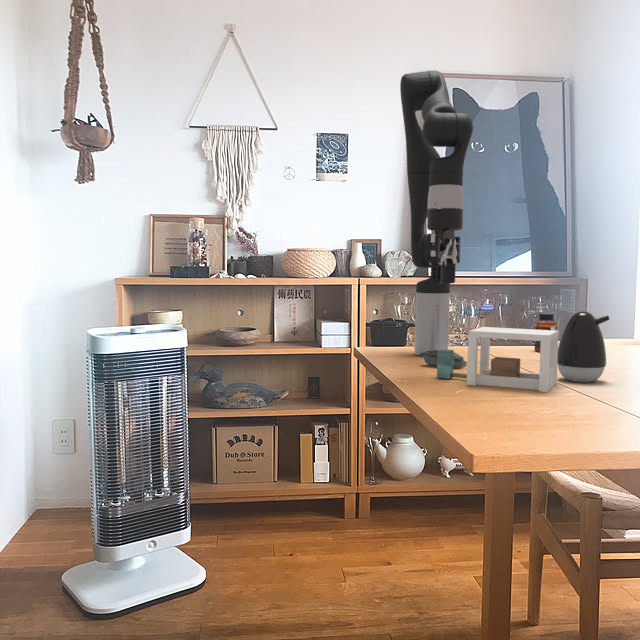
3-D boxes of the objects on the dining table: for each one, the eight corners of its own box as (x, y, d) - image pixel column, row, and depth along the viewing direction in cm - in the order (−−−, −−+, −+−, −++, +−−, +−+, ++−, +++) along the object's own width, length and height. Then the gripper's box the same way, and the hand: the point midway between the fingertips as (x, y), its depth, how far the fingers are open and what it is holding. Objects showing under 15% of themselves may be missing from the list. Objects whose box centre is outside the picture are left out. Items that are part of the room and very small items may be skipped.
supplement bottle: (558, 353, 203) (559, 314, 202) (537, 352, 203) (539, 313, 202) (551, 350, 209) (553, 312, 208) (531, 350, 209) (533, 312, 208)
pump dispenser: (607, 386, 146) (610, 313, 145) (554, 382, 149) (557, 311, 148) (605, 378, 155) (608, 310, 154) (556, 375, 159) (558, 309, 158)
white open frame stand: (481, 377, 155) (483, 326, 154) (556, 383, 148) (558, 330, 147) (466, 384, 145) (468, 330, 144) (547, 392, 137) (549, 335, 136)
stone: (426, 367, 179) (415, 359, 170) (429, 352, 179) (418, 343, 171) (466, 374, 174) (457, 367, 165) (470, 358, 175) (461, 350, 166)
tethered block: (442, 375, 156) (442, 348, 155) (519, 381, 148) (520, 353, 148) (435, 378, 151) (435, 350, 151) (514, 385, 144) (515, 356, 143)
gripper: (440, 211, 158) (438, 282, 159) (416, 205, 146) (414, 283, 147) (472, 210, 155) (470, 283, 156) (450, 204, 142) (448, 284, 143)
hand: (443, 283), depth 151 cm, fingers open, 8 cm apart
